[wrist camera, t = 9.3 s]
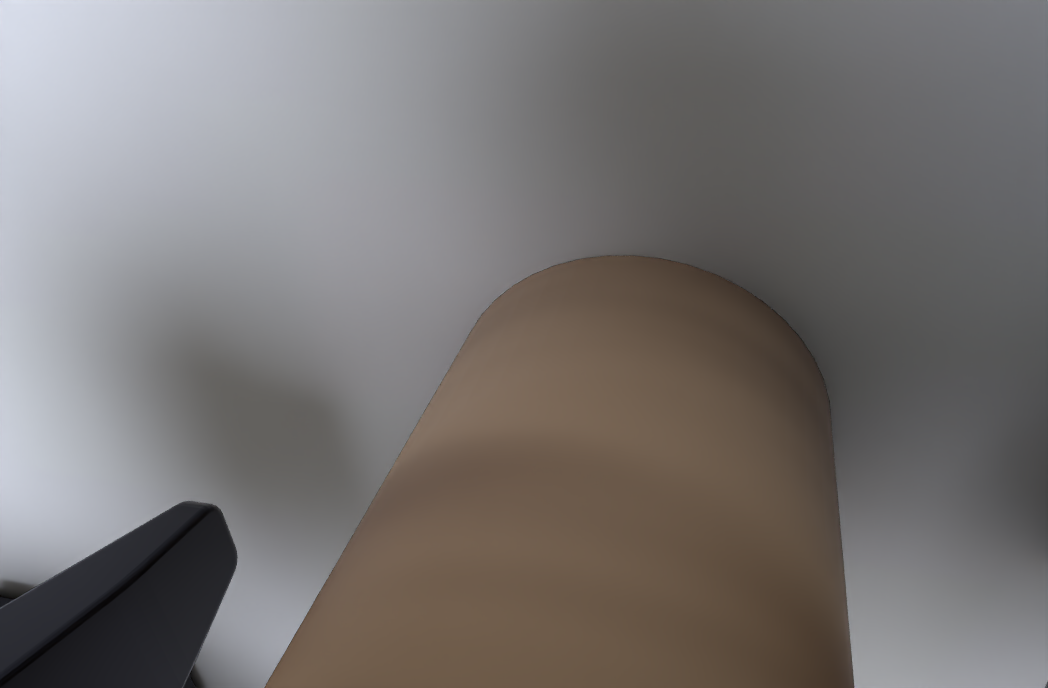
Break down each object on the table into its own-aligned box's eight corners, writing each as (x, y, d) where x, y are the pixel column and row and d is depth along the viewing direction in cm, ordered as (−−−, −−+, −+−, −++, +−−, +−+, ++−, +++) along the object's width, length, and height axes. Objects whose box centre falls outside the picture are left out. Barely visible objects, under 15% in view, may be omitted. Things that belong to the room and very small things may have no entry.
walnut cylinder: (805, 574, 11) (832, 1309, 6) (477, 526, 13) (241, 1093, 7) (860, 267, 9) (1009, 1095, 3) (435, 245, 10) (0, 807, 4)
